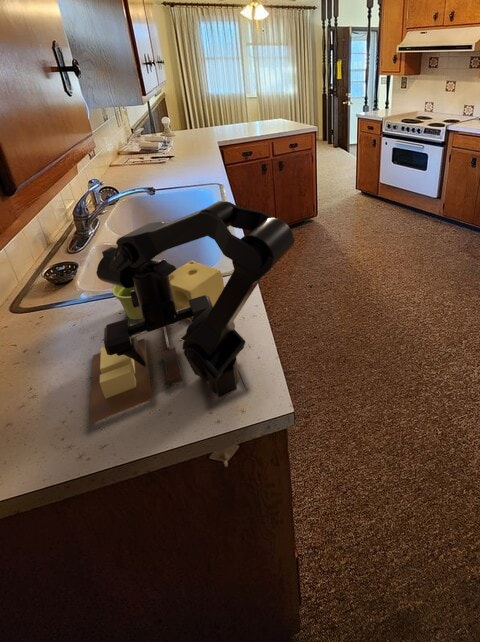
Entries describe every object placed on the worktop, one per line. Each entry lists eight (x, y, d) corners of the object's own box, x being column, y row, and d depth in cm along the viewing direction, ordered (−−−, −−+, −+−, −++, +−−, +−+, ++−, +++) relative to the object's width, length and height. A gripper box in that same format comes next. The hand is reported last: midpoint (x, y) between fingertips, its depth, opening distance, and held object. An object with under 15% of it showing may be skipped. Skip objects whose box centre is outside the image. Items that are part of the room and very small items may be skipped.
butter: (135, 373, 68) (130, 358, 66) (105, 384, 65) (99, 369, 64) (133, 353, 72) (129, 338, 71) (105, 362, 70) (100, 347, 69)
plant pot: (171, 304, 88) (165, 275, 85) (147, 330, 80) (139, 299, 77) (139, 299, 90) (131, 271, 87) (112, 324, 82) (102, 294, 78)
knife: (183, 384, 67) (180, 373, 66) (169, 390, 66) (166, 378, 64) (170, 325, 82) (167, 315, 80) (159, 329, 80) (156, 318, 79)
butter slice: (136, 387, 65) (131, 371, 63) (105, 399, 63) (99, 383, 61) (135, 379, 66) (130, 363, 65) (105, 390, 64) (99, 374, 63)
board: (153, 403, 63) (151, 398, 63) (91, 429, 59) (89, 424, 58) (145, 342, 77) (144, 338, 76) (94, 359, 72) (93, 355, 72)
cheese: (165, 313, 85) (157, 279, 81) (198, 289, 94) (192, 257, 90) (195, 327, 81) (189, 292, 77) (228, 301, 89) (223, 268, 85)
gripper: (198, 257, 74) (208, 316, 81) (96, 283, 66) (116, 346, 72) (210, 284, 65) (220, 348, 72) (94, 318, 57) (117, 387, 63)
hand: (170, 355), depth 70 cm, fingers open, 9 cm apart
